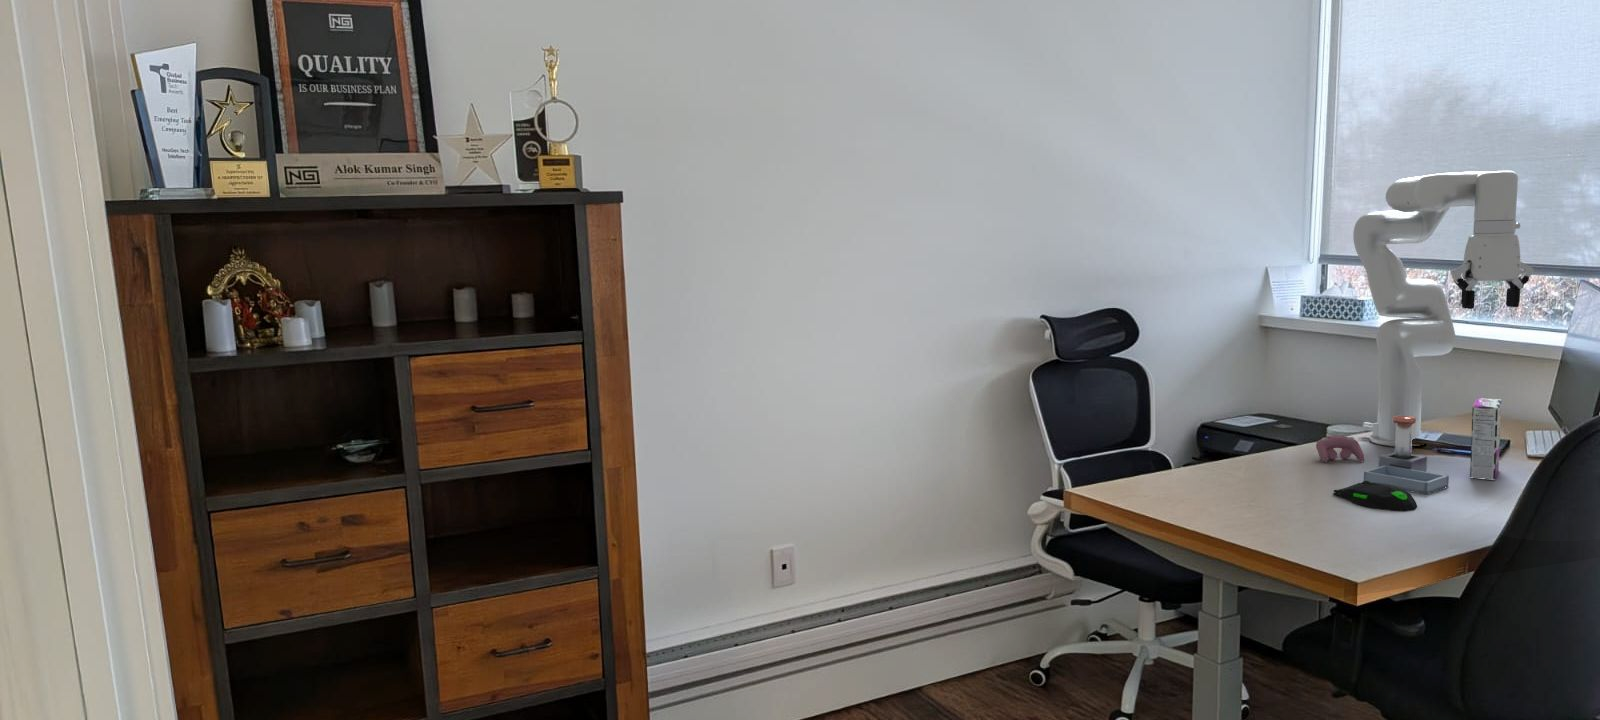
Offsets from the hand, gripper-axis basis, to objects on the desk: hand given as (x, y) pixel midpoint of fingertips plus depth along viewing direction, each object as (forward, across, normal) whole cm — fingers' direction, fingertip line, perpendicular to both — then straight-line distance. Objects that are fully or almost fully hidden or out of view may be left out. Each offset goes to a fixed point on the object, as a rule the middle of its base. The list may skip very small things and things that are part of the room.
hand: (1490, 307), depth 226 cm
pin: (+37, +16, -2) cm, 41 cm away
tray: (+37, +21, +7) cm, 43 cm away
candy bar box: (+38, 0, +1) cm, 38 cm away
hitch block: (+37, +16, -2) cm, 41 cm away
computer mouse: (+38, +34, +18) cm, 54 cm away
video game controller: (+38, +23, -17) cm, 47 cm away
